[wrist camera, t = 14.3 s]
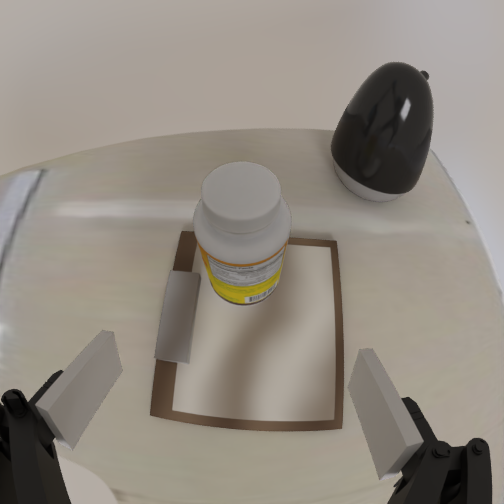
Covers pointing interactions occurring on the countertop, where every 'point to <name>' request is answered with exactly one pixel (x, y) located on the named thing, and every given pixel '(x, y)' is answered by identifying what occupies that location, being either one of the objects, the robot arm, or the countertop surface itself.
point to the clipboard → (253, 346)
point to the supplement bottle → (242, 231)
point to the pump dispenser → (385, 133)
